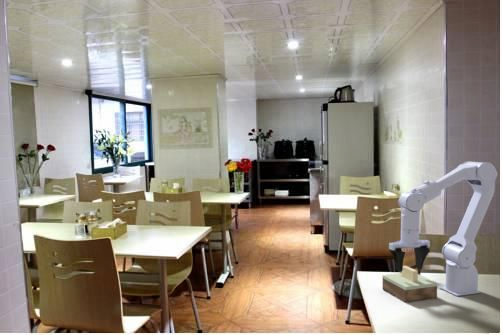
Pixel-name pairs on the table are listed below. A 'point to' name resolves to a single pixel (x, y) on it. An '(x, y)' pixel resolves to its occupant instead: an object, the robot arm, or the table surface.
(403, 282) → the lid
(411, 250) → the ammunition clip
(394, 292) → the wooden open box
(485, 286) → the table surface
